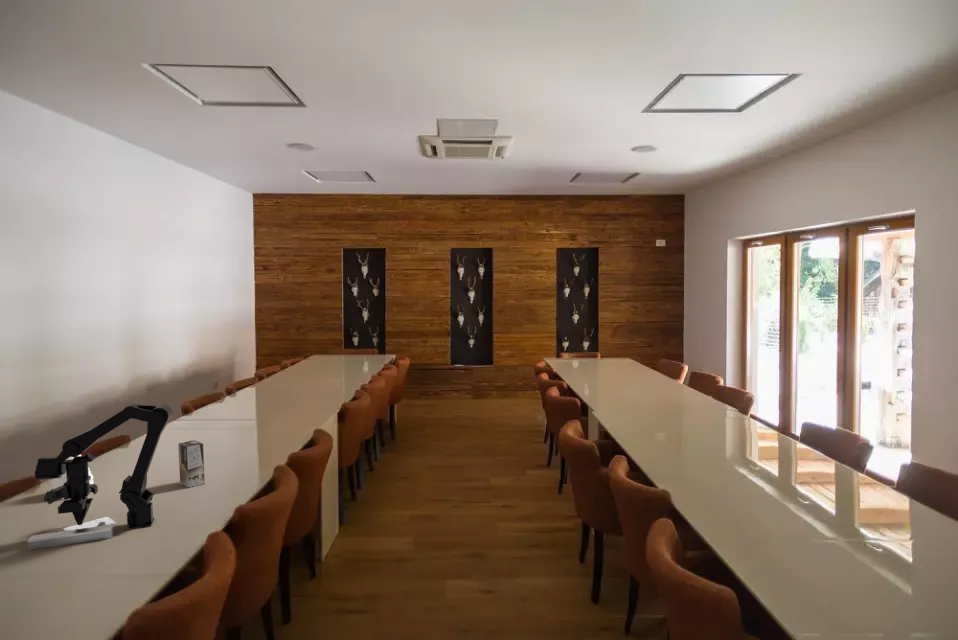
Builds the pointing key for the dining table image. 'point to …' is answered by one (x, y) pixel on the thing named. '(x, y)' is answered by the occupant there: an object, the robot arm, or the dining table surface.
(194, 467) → the coffee box
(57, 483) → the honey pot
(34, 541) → the grey door handle
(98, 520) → the external hard drive
